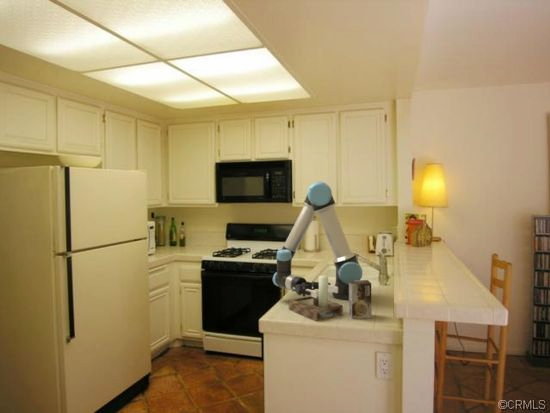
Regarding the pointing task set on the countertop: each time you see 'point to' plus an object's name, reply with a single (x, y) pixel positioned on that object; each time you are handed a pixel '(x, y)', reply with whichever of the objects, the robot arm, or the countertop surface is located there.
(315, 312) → the brown square frame
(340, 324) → the countertop surface
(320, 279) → the cream rod gray base
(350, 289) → the coffee box
